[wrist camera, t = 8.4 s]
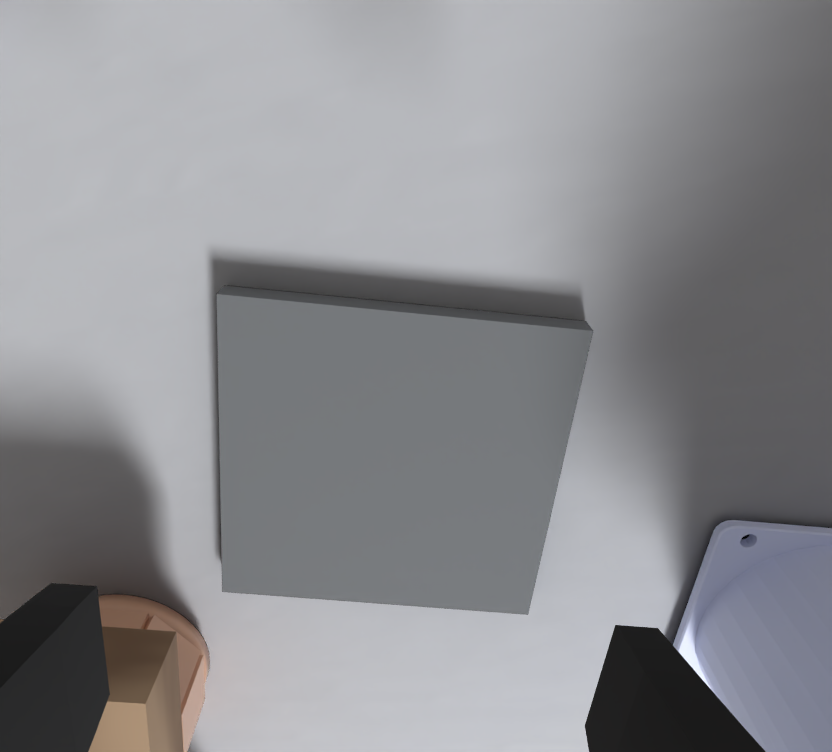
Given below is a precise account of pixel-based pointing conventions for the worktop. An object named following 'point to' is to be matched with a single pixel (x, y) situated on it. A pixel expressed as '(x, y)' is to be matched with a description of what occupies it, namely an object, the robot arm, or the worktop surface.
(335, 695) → the worktop surface
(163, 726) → the tan cardboard box
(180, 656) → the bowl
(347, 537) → the mat
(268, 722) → the worktop surface
